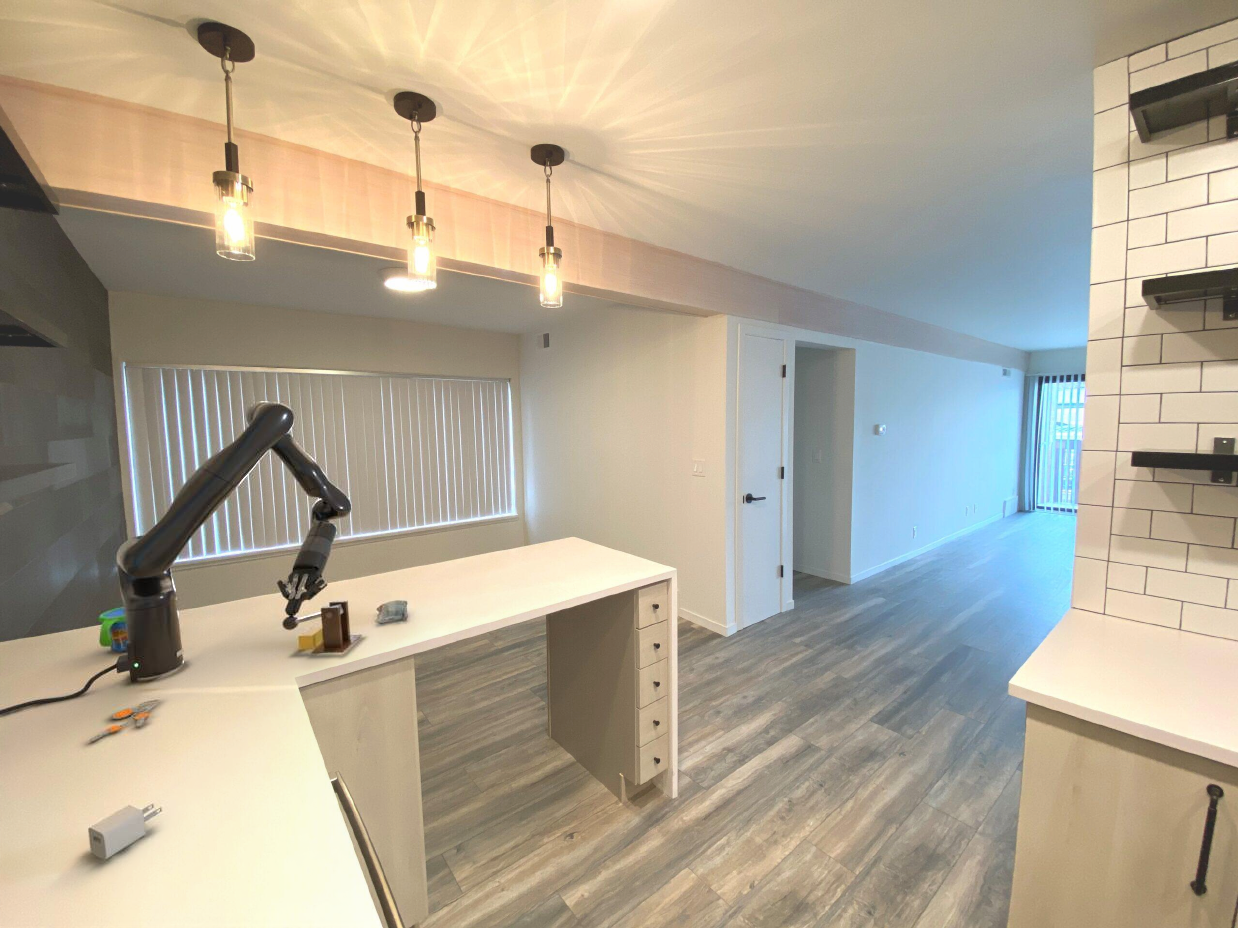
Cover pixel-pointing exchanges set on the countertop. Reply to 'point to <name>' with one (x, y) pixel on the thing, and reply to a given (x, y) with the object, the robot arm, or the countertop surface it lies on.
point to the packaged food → (392, 611)
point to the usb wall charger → (118, 830)
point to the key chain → (139, 716)
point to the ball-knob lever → (301, 619)
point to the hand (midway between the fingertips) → (290, 614)
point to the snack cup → (113, 630)
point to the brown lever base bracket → (335, 629)
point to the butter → (310, 638)
